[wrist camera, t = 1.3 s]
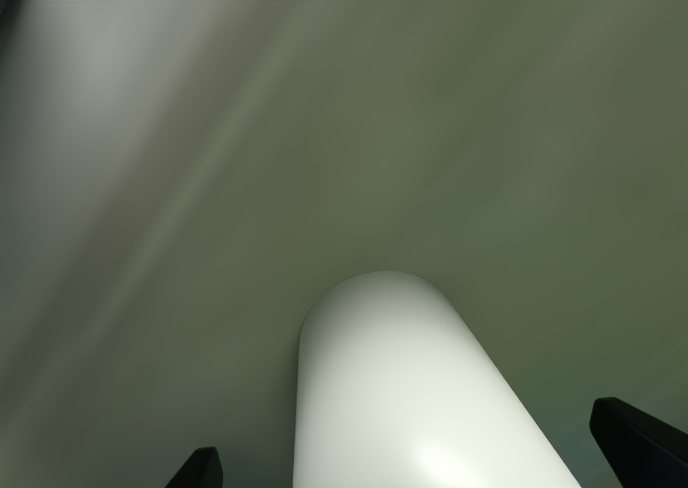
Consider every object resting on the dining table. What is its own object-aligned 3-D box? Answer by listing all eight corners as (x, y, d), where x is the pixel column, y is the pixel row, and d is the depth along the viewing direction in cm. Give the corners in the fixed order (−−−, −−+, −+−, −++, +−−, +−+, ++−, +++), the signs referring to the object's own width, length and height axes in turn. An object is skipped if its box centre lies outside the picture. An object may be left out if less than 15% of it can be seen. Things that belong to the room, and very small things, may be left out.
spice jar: (465, 259, 11) (809, 601, 3) (458, 398, 13) (668, 816, 5) (286, 277, 11) (226, 695, 3) (305, 417, 13) (299, 887, 5)
